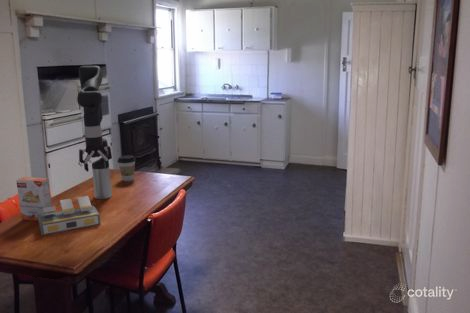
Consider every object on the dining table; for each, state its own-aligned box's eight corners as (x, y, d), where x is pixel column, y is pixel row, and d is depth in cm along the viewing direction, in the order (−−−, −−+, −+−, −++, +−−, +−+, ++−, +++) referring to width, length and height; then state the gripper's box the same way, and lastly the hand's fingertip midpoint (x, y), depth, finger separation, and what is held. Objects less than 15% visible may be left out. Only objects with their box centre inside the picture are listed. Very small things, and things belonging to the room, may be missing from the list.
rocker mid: (60, 203, 219) (60, 200, 218) (71, 201, 222) (70, 198, 221) (63, 214, 213) (63, 211, 212) (74, 213, 215) (74, 209, 214)
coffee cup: (116, 182, 286) (114, 158, 282) (123, 177, 297) (121, 154, 293) (133, 182, 284) (131, 159, 280) (139, 177, 295) (138, 155, 291)
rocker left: (43, 213, 216) (42, 208, 216) (54, 211, 218) (53, 206, 218) (44, 212, 208) (43, 207, 208) (55, 210, 210) (55, 205, 210)
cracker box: (21, 220, 224) (15, 179, 219) (28, 216, 229) (23, 176, 225) (46, 222, 221) (41, 180, 216) (53, 217, 227) (48, 177, 222)
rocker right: (77, 200, 223) (77, 197, 222) (88, 199, 225) (87, 195, 224) (81, 211, 216) (80, 208, 215) (91, 210, 219) (91, 206, 217)
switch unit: (39, 225, 217) (37, 214, 216) (94, 215, 229) (93, 204, 227) (41, 235, 205) (40, 224, 204) (100, 224, 216) (99, 213, 215)
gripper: (107, 132, 213) (110, 165, 217) (75, 135, 206) (79, 170, 210) (111, 134, 207) (114, 169, 210) (78, 138, 200) (82, 174, 204)
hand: (96, 169), depth 210 cm, fingers open, 8 cm apart
